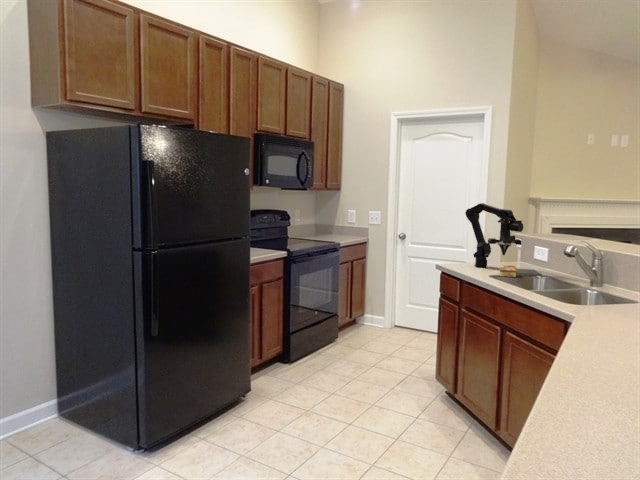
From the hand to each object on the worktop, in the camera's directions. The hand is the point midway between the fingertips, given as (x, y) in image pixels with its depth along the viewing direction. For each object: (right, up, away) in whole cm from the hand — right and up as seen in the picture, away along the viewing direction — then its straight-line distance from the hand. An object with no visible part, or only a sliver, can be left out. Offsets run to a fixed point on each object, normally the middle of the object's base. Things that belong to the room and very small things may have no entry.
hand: (503, 255), depth 291 cm
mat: (+13, -10, 0) cm, 17 cm away
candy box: (+2, -8, -1) cm, 8 cm away
